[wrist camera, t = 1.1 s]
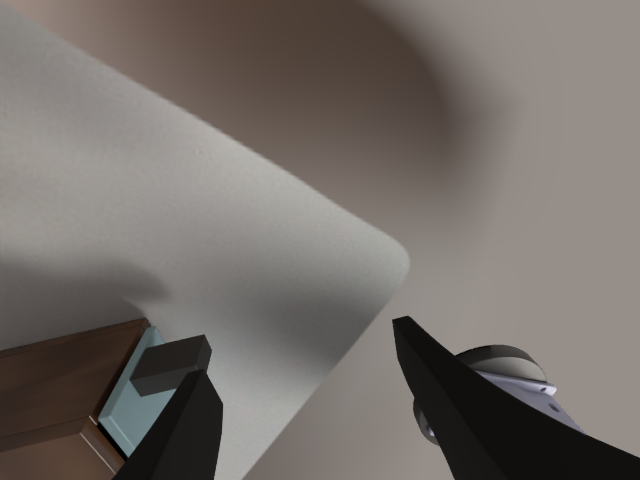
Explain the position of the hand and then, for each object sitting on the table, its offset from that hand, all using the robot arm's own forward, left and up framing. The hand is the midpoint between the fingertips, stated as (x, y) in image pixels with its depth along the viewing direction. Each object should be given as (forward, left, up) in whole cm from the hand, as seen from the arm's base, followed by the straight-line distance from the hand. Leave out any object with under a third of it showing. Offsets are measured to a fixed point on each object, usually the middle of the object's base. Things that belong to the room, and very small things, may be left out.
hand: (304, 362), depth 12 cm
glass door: (+4, +10, -9) cm, 14 cm away
